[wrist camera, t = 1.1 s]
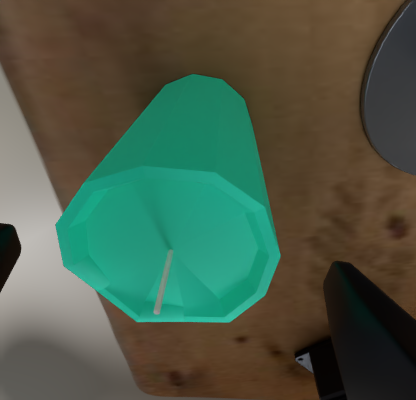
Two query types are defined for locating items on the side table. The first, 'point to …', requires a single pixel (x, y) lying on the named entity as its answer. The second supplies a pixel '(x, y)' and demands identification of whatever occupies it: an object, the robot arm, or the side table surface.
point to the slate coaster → (393, 92)
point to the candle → (177, 211)
